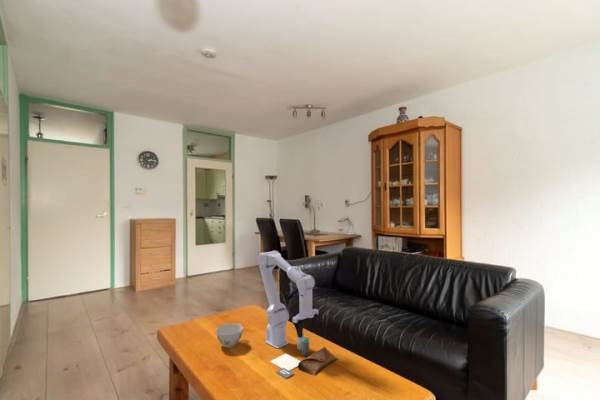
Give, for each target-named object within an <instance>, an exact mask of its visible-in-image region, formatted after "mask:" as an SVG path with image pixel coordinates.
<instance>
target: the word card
mask: <svg viewBox="0 0 600 400" xmlns="http://www.w3.org/2000/svg"><path fill="white" fill-rule="evenodd" d="M275 373H276V374H277V375H279V376H281V377H283V378H284V379H285V380H286V379H289V378H290V377H293V376H294V372H292V371H288V370H287V369H285V368H282V369H281V368H280V369H279V370H277V371H275Z"/></svg>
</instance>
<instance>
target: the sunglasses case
mask: <svg viewBox="0 0 600 400" xmlns="http://www.w3.org/2000/svg"><path fill="white" fill-rule="evenodd" d="M337 360H339V358H338V357H336V356H335V355H334V354H333V353H332V352H331V351H329V350H328V348H326V346H323V347H322V348H320V349H318V350H316V351H315V352H313V353H312V354H309V356H308V357H305V358H304V359H301V360H299V361H300V362H299V364H298V367H297V368H298V370H299V371H302V372H304V373H306V374H308V375H311V376H313V377H315V376H317V374H318V373H320V372H321V371H322V370H323V369H325V368H326V367H327V366H329V365H331V364H332V363H333V362H335V361H337Z"/></svg>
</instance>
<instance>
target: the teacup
mask: <svg viewBox="0 0 600 400" xmlns="http://www.w3.org/2000/svg"><path fill="white" fill-rule="evenodd" d="M215 331H216V333H215V334H216V337H217V338H216V339H217V340H218V342H219V344H221V345H222V346H223V347H224V348H227V347H228V349H229V348H230V347H231V348H234V347H235V346H236V345H237V344H238V343H239V341H240V340H241V339H242V335H243V332H244V327H243V325H242V324H240V323H230V322H228V323H224V324H222V325H221V324H220V325H219V326H218V327H216V329H215ZM233 346H234V347H233Z"/></svg>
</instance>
